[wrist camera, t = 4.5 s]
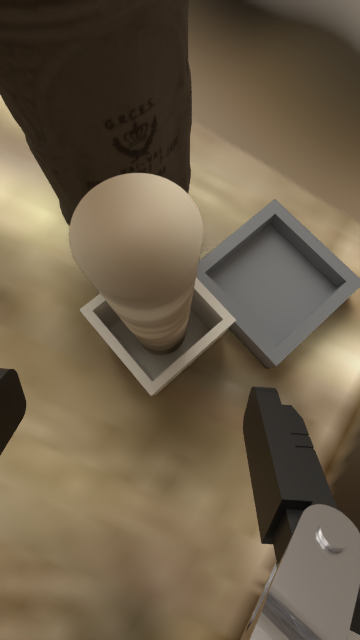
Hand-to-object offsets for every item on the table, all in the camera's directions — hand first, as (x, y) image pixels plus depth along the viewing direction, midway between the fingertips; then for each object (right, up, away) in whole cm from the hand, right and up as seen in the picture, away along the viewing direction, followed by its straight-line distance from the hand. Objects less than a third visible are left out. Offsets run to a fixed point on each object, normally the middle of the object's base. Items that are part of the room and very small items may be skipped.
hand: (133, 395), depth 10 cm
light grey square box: (0, +2, +15) cm, 15 cm away
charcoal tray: (+9, +5, +16) cm, 19 cm away
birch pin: (0, +2, +14) cm, 14 cm away
